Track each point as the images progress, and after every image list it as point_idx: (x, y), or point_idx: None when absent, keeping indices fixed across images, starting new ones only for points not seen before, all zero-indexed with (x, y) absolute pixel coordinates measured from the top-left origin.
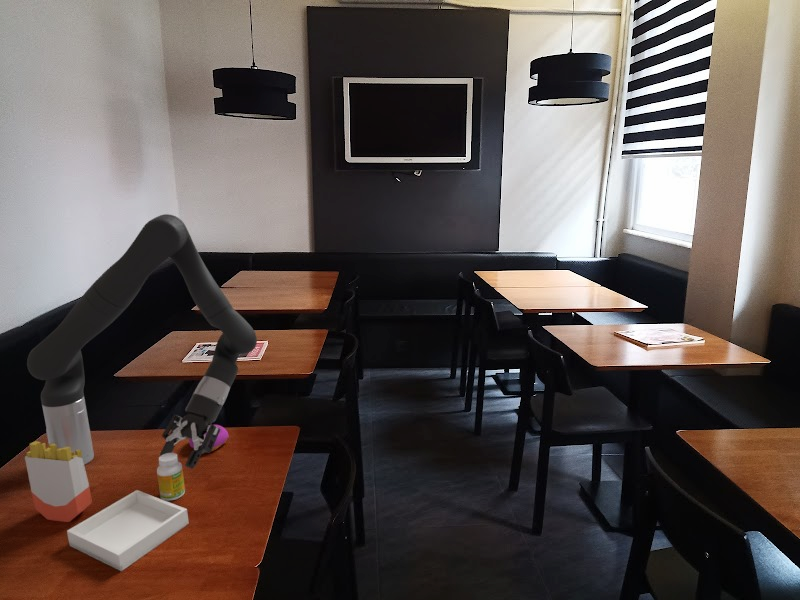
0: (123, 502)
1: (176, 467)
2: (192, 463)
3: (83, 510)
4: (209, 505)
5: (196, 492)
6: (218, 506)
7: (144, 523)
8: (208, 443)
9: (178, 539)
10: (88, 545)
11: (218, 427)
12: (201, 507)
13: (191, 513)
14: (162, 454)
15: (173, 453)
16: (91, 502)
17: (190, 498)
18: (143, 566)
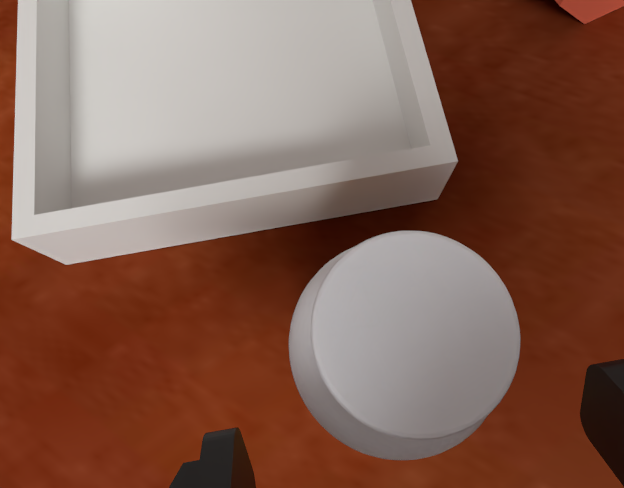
0: (406, 79)
1: (306, 363)
2: (173, 486)
3: (580, 20)
4: (95, 429)
5: (277, 465)
6: (41, 456)
7: (216, 118)
8: None
9: None
10: None
11: None
12: (121, 387)
13: (124, 321)
14: (618, 380)
15: (441, 417)
16: (559, 2)
17: (251, 401)
18: (14, 27)
